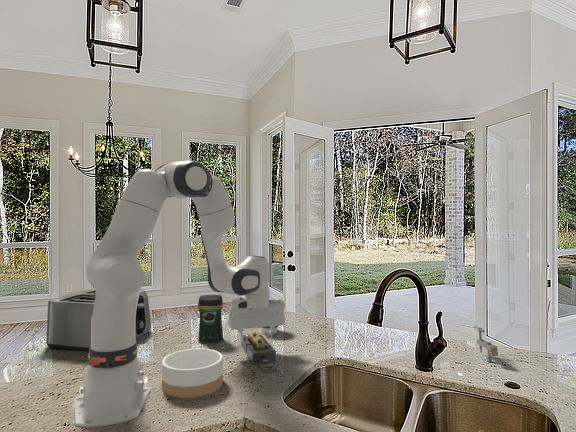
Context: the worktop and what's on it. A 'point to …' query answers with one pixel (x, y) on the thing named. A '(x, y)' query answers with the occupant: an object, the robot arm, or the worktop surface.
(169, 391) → the bowl
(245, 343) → the chain end far
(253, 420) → the worktop surface
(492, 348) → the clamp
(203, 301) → the coffee jar
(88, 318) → the toaster
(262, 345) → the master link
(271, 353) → the chain end near
